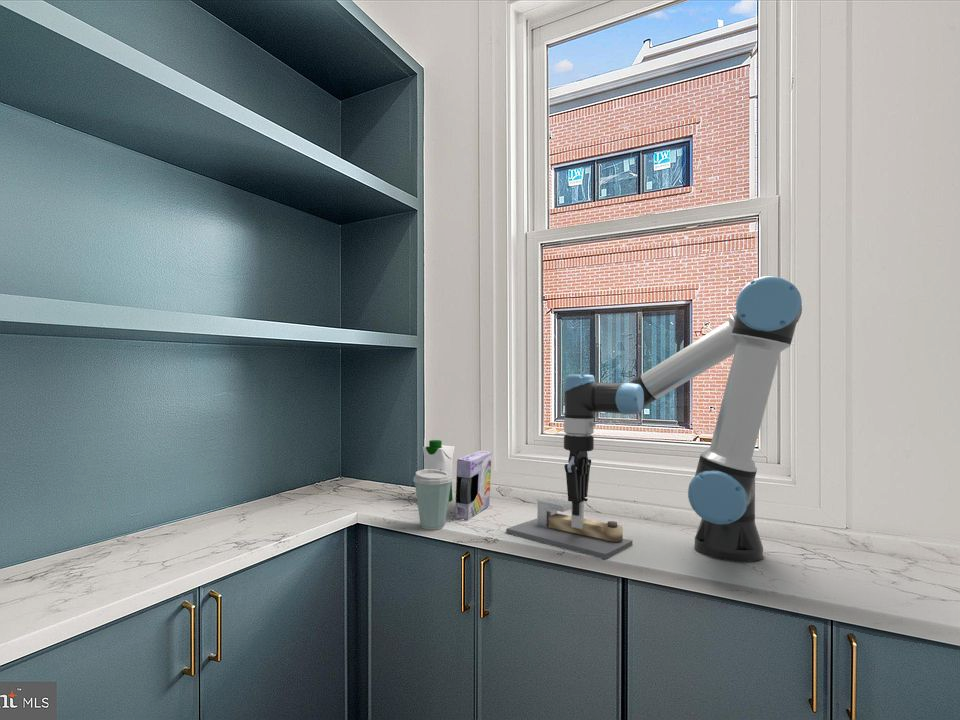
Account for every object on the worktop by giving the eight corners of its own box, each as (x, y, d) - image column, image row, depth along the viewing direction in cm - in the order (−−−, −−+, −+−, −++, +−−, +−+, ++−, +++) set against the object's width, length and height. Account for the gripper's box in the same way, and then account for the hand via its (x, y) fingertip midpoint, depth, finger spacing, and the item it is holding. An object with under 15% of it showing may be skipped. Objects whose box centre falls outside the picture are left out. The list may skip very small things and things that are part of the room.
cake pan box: (468, 522, 152) (469, 459, 152) (452, 520, 154) (453, 458, 154) (491, 507, 170) (492, 451, 170) (476, 505, 171) (477, 450, 172)
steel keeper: (572, 531, 144) (572, 502, 144) (562, 535, 140) (562, 505, 140) (547, 525, 149) (547, 497, 149) (537, 529, 145) (537, 500, 146)
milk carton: (418, 502, 174) (420, 440, 175) (435, 496, 182) (436, 437, 182) (440, 505, 170) (441, 442, 170) (456, 500, 177) (458, 440, 178)
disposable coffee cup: (459, 525, 148) (460, 471, 148) (434, 535, 139) (436, 477, 139) (429, 519, 153) (430, 467, 154) (403, 528, 144) (405, 472, 145)
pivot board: (632, 545, 133) (632, 540, 133) (605, 559, 123) (605, 554, 123) (536, 522, 152) (536, 518, 152) (506, 533, 142) (506, 528, 142)
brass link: (625, 538, 134) (625, 522, 134) (617, 543, 130) (617, 526, 130) (557, 523, 146) (557, 509, 146) (547, 527, 142) (548, 512, 142)
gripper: (583, 437, 129) (582, 536, 129) (601, 433, 141) (600, 524, 140) (555, 435, 133) (553, 530, 133) (574, 431, 144) (573, 519, 144)
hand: (577, 527), depth 136 cm, fingers closed
